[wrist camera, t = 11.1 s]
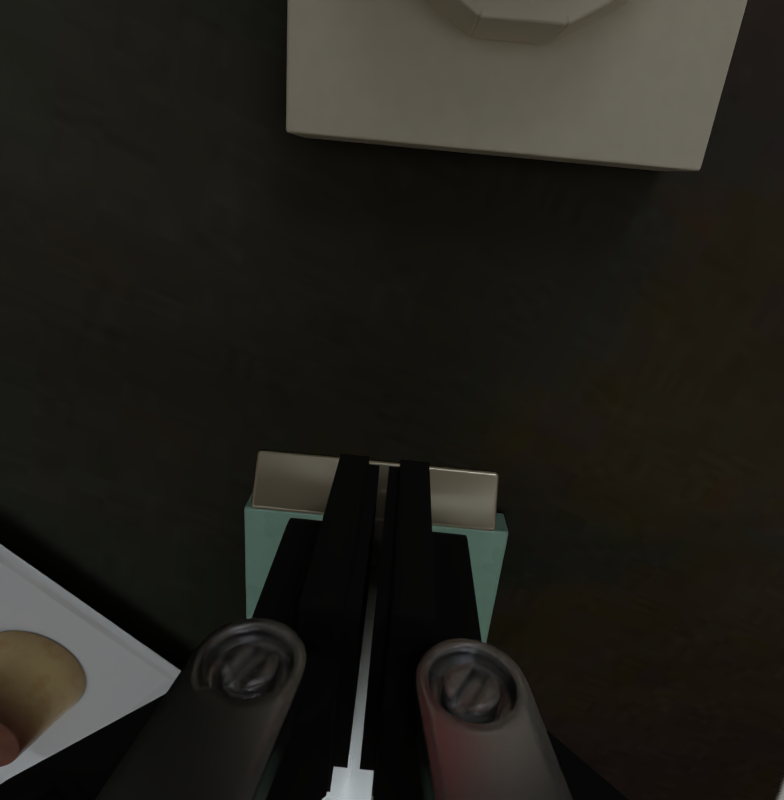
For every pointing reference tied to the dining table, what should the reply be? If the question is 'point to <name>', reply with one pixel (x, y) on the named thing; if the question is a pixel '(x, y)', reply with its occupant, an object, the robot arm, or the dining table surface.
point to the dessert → (63, 668)
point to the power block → (514, 76)
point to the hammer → (308, 493)
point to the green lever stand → (271, 524)
